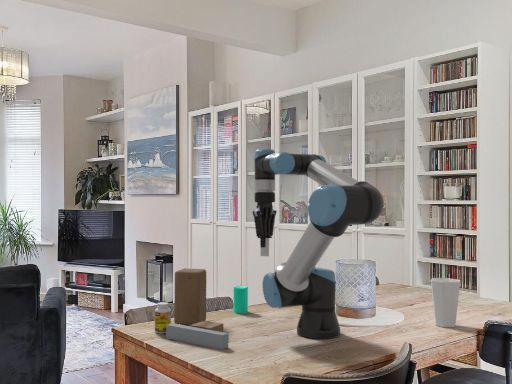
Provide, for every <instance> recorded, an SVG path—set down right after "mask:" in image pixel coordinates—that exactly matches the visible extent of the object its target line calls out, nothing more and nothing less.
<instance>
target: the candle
mask: <svg viewBox="0 0 512 384" xmlns="http://www.w3.org/2000/svg"><path fill="white" fill-rule="evenodd" d="M248 296H249V287H248V285H240V286H239V285H236V286H233V297H232V299H233V307H232V308H233V311H232V312H233V313H235V314H246V313H247V314H248V312H249V311H248V308H249V307H248V306H249V303H248V302H249V297H248Z"/></svg>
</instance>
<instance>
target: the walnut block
mask: <svg viewBox="0 0 512 384" xmlns="http://www.w3.org/2000/svg"><path fill="white" fill-rule="evenodd" d="M189 326H190V327H196V328H202V329H207V330H213V331H218V332H224V323H223V322H216V321H208V320H205V321H202V322H199V323H196V324H193V325H189Z"/></svg>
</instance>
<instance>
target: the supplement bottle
mask: <svg viewBox="0 0 512 384" xmlns="http://www.w3.org/2000/svg"><path fill="white" fill-rule="evenodd" d="M156 306H157V307H156V308H155V310H154V332H155V333H156V334H161V335H164V333H165V334H166V325H168V324H172V323H171V322H172V321H171V319H172V309H171V308H170V306H169V302H164V301H163V302H161V301H160V302H157V305H156Z"/></svg>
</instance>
